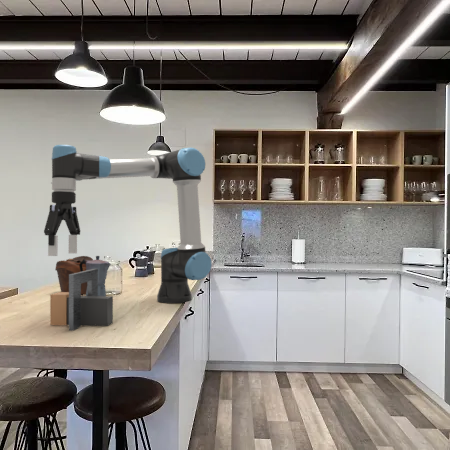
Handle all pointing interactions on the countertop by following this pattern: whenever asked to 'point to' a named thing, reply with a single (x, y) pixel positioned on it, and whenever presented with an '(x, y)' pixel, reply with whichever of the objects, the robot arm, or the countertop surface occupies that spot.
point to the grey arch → (75, 294)
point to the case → (70, 272)
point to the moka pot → (102, 272)
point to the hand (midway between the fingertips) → (63, 254)
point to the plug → (82, 310)
